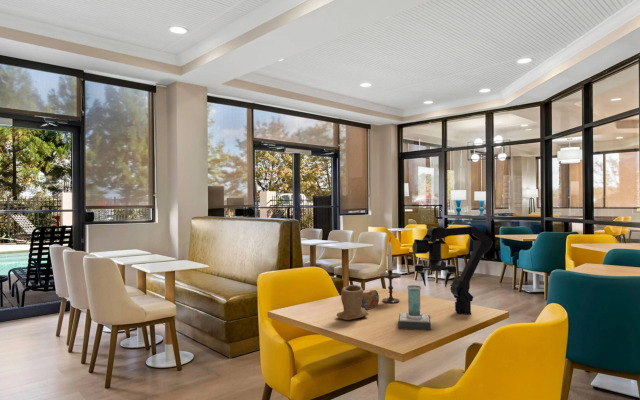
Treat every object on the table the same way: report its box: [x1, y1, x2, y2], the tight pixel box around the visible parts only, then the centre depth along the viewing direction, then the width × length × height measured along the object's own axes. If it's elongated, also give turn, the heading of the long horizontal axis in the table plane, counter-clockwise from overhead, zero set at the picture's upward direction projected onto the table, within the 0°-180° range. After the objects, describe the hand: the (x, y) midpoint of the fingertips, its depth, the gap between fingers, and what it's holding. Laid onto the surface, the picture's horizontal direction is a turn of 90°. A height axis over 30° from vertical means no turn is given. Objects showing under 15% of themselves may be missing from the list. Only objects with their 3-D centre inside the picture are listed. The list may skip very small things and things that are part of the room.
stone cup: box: [336, 284, 369, 321], centre depth 192 cm, size 15×12×15 cm
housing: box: [406, 284, 423, 319], centre depth 179 cm, size 7×7×13 cm
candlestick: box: [379, 236, 402, 305], centre depth 224 cm, size 11×11×35 cm
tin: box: [361, 289, 380, 311], centre depth 211 cm, size 15×3×8 cm, turn 143°
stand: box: [398, 312, 432, 331], centre depth 179 cm, size 13×13×4 cm
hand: (435, 286), depth 197 cm, fingers open, 9 cm apart
